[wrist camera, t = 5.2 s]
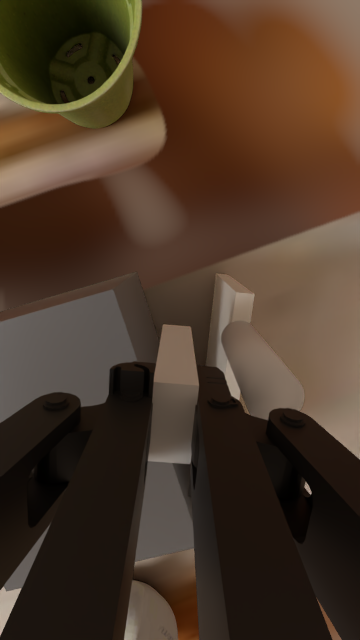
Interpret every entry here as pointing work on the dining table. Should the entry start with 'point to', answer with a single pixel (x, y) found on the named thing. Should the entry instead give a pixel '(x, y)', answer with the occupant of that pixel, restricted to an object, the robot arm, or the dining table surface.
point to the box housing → (92, 387)
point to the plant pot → (70, 72)
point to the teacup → (149, 615)
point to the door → (248, 353)
